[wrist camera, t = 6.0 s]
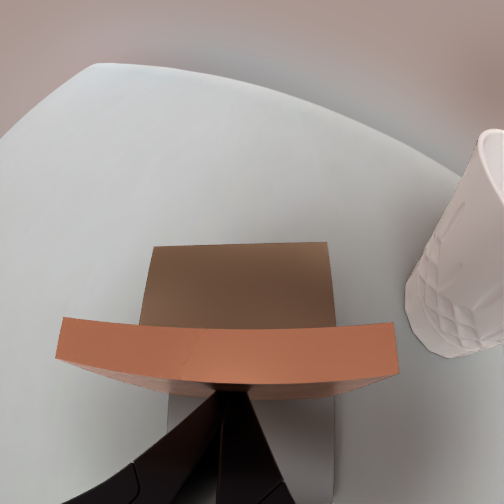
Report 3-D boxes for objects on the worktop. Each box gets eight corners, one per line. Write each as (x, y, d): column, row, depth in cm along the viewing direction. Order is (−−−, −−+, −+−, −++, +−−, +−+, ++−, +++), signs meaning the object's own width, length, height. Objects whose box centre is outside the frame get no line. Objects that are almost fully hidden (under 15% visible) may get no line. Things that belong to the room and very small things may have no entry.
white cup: (395, 239, 17) (455, 106, 8) (487, 261, 15) (564, 163, 7) (387, 362, 13) (515, 274, 5) (492, 371, 11) (614, 305, 3)
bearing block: (330, 500, 9) (365, 553, 4) (169, 493, 10) (102, 529, 4) (327, 309, 15) (355, 241, 9) (181, 310, 16) (130, 247, 10)
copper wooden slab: (325, 398, 12) (399, 373, 4) (175, 395, 12) (55, 358, 5) (320, 299, 14) (357, 171, 7) (184, 300, 15) (107, 186, 8)
